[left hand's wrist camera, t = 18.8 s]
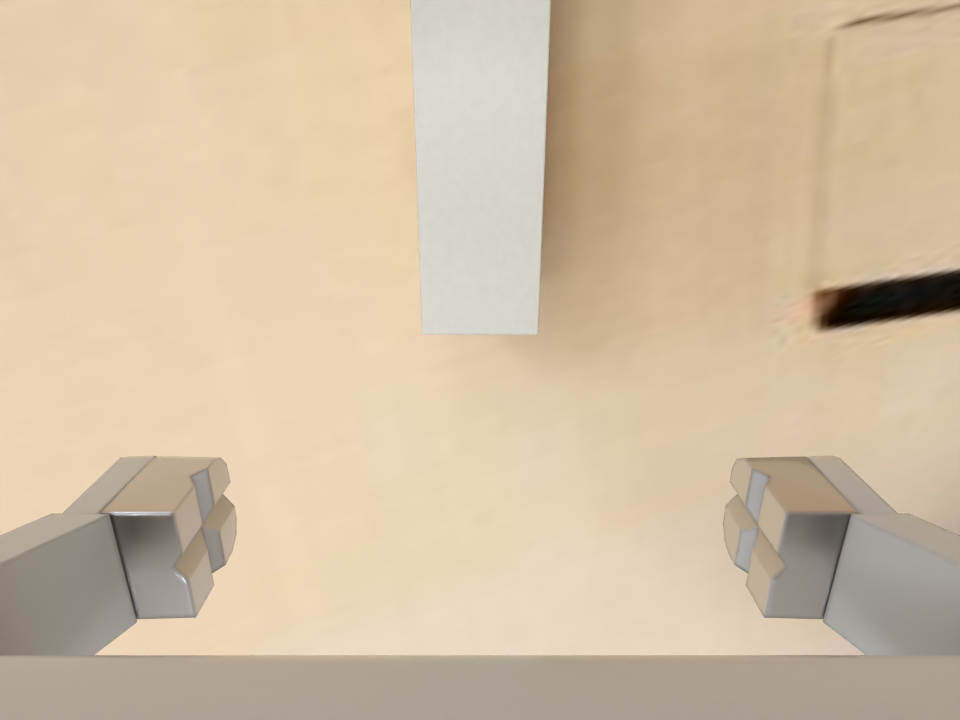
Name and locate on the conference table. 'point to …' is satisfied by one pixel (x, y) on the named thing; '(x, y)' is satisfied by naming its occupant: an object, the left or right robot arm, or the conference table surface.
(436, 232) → the bar
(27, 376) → the conference table surface
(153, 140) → the conference table surface
